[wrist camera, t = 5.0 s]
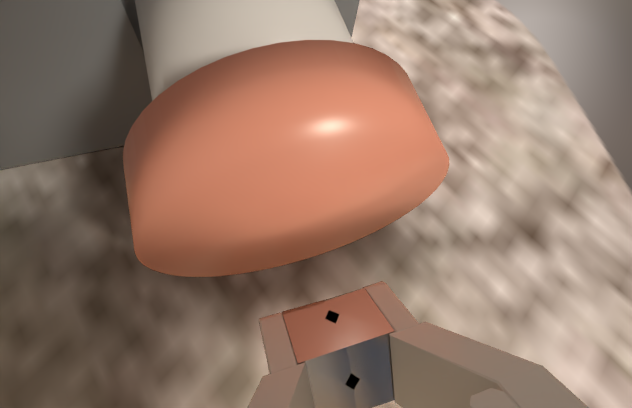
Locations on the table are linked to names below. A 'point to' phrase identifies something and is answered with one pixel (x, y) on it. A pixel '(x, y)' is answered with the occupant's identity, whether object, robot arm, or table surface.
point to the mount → (74, 76)
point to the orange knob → (268, 137)
